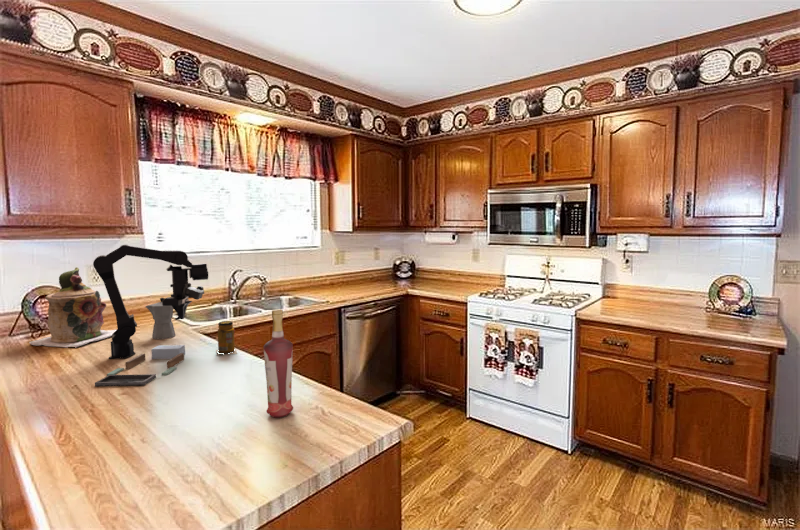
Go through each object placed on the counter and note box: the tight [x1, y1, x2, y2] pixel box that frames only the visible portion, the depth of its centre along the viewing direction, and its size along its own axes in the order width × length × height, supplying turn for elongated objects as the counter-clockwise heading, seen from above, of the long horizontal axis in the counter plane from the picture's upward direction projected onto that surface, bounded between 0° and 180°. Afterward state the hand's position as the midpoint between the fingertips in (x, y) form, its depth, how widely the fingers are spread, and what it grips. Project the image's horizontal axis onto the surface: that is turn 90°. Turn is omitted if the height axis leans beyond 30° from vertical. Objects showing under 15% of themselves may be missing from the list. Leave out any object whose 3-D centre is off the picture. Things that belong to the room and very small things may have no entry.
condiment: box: [215, 320, 238, 356], centre depth 165 cm, size 7×8×12 cm
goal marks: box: [106, 366, 177, 376], centre depth 143 cm, size 20×6×1 cm, turn 92°
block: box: [151, 344, 186, 360], centre depth 160 cm, size 10×5×4 cm, turn 93°
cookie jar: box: [28, 267, 117, 349], centre depth 183 cm, size 25×25×32 cm
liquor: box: [263, 308, 294, 419], centre depth 109 cm, size 7×7×28 cm
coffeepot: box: [145, 297, 181, 340], centre depth 189 cm, size 15×9×18 cm, turn 118°
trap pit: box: [94, 373, 157, 388], centre depth 134 cm, size 15×7×1 cm, turn 92°
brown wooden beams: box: [124, 353, 185, 370], centre depth 151 cm, size 15×10×2 cm, turn 92°
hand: (182, 319), depth 171 cm, fingers closed
